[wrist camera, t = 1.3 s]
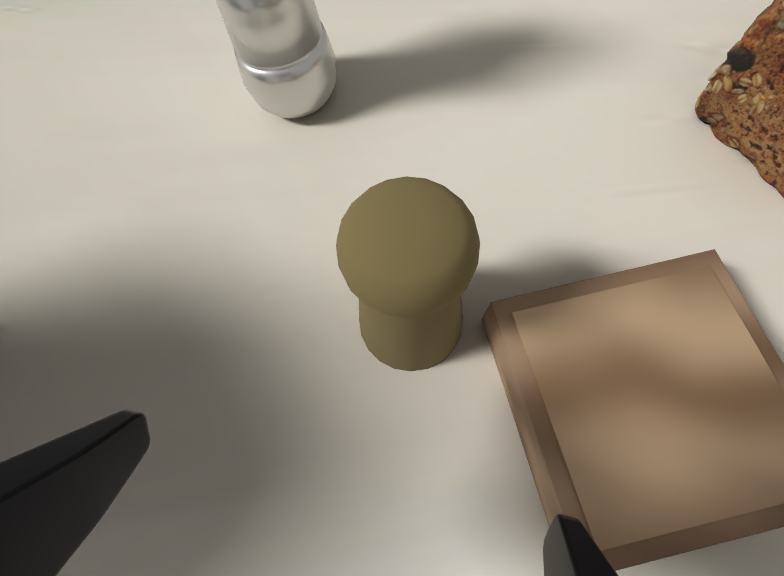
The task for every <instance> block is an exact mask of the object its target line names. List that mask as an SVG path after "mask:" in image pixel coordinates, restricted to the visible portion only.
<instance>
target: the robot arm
mask: <svg viewBox="0 0 784 576" xmlns="http://www.w3.org/2000/svg"><path fill="white" fill-rule="evenodd" d="M149 444H150V436H149V431H148V426H147V421H146V417H145V415H144V414H143V413H140V412H136V411H132V410H123V411H120V412H118V413H115V414H113V415H111V416H108V417H106V418H104V419H101V420H99V421H97V422H94V423H92V424H90V425H87V426H85V427H83V428H80V429H78V430H76V431H73V432H71V433H69V434H66V435H64V436H62V437H59V438H57V439H54V440H52V441H50V442H47V443H45V444H43V445H40V446H38V447H36V448H33V449H31V450H29V451H26V452H24V453H22V454H19V455H17V456H15V457H12V458H10V459H8V460H5V461H3V462H1V463H0V576H56V575H57V573H58V572H59V571H60V570H61V568H62V567H63V566H64V565H65V563H66V562H67V561H68V559H69V558H70V557H71V556H72V554H73V553H74V552H75V551H76V549H77V548H78V547H79V546H80V544H81V543H82V542H83V541H84V539H85V538H86V537H87V536H88V534H89V533H90V532H91V531H92V529H93V528H94V527H95V526H96V524H97V523H98V522H99V520H100V519H101V518H102V516H103V515H104V513H105V512H106V511H107V509H108V508H109V506H110V505H111V504H112V502H113V501H114V499H115V498H116V496H117V495H118V493H119V492H120V490H121V489H122V487H123V486H124V484H125V483H126V481H127V480H128V478H129V477H130V475H131V474H132V472H133V471H134V469H135V468H136V466H137V465H138V463H139V462H140V460H141V459H142V457H143V456H144V454H145V453H146V451H147V449H148V447H149ZM543 560H544V576H618V575H617V573H616V572H615V570H614V569H613V567H612V566H611V564H610V563H609V562H608V560H607V559H606V557H605V556H604V554H603V553H602V551H601V550H600V548H599V547H598V546H597V544H596V543H595V541H594V540H593V538H592V537H591V535H590V534H589V533H588V531H587V530H586V528H585V527H584V525H583V524H582V522H581V521H580V520H579V519H577V518H575V517H572V516H568V515H563V514H556V515H555V516H554V518H553V520H552V522H551V525H550V527H549V530H548V532H547V534H546V537H545V539H544V545H543Z"/></svg>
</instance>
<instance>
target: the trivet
mask: <svg viewBox="0 0 784 576" xmlns="http://www.w3.org/2000/svg"><path fill="white" fill-rule="evenodd" d="M482 321H483V324H484V328H485V331H486V334H487V337H488V340H489V343H490V346H491V349H492V352H493V355H494V358H495V361H496V364H497V367H498V370H499V373H500V376H501V379H502V383H503V386H504V389H505V392H506V395H507V398H508V401H509V404H510V407H511V410H512V413H513V416H514V419H515V422H516V425H517V428H518V431H519V434H520V438H521V441H522V444H523V447H524V450H525V453H526V456H527V459H528V462H529V465H530V468H531V471H532V474H533V477H534V480H535V483H536V486H537V489H538V493H539V496H540V499H541V502H542V505H543V508H544V511H545V514H546V517H547V520H548V523H549V526H550V525H551V522H552V520H553V518H554V516H555V515H556V514H563V515H568V516H572V517H575V518H577V519H579V520H580V521H581V522H582V524H583V525H584V527H585V528H586V530H587V531H588V533H589V534H590V535H591V537H592V538H593V540H594V541H595V543H596V544H597V546H598V547H599V548H600V550H601V551H602V553H603V554H604V556H605V557H606V559H607V560H608V562H609V563H610V564H611V566H612V567H613V569H614V570H615V571H616V570H620V569H624V568H627V567H631V566H635V565H639V564H643V563H647V562H650V561H654V560H658V559H662V558H666V557H670V556H673V555H677V554H681V553H685V552H689V551H693V550H696V549H700V548H704V547H708V546H712V545H716V544H719V543H723V542H727V541H731V540H735V539H739V538H742V537H746V536H750V535H754V534H758V533H762V532H765V531H769V530H773V529H777V528H781V527H784V365H783V363H782V361H781V360H780V358H779V356H778V355H777V353H776V351H775V350H774V348H773V346H772V345H771V343H770V341H769V340H768V338H767V336H766V335H765V333H764V331H763V330H762V328H761V326H760V324H759V323H758V321H757V319H756V318H755V316H754V314H753V313H752V311H751V309H750V308H749V306H748V304H747V303H746V301H745V299H744V298H743V296H742V294H741V293H740V291H739V289H738V288H737V286H736V284H735V283H734V281H733V279H732V278H731V276H730V274H729V272H728V271H727V269H726V267H725V266H724V264H723V262H722V261H721V259H720V257H719V256H718V254H717V252H716V251H715V249H714V250H710V251H705V252H701V253H697V254H693V255H689V256H684V257H680V258H676V259H672V260H668V261H663V262H659V263H655V264H651V265H647V266H642V267H638V268H634V269H630V270H625V271H621V272H617V273H613V274H609V275H604V276H600V277H596V278H592V279H588V280H583V281H579V282H575V283H571V284H567V285H562V286H558V287H554V288H550V289H545V290H541V291H537V292H533V293H529V294H524V295H520V296H516V297H512V298H508V299H503V300H499V301H495V302H491V303H490V305H489V307H488V309H487V311H486V312H485V314H484V316H483V318H482Z"/></svg>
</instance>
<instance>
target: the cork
mask: <svg viewBox="0 0 784 576" xmlns="http://www.w3.org/2000/svg"><path fill="white" fill-rule="evenodd" d="M336 248H337V257H338V266H339V268H340V270H341V272H342V274H343V276H344V278H345V280H346V282H347V284H348V286H349V288H350V290H351V291H352V292H353V293H354V294H355V295H356V296H357V297H358V298H359V321H360V328H361V335H362V338H363V340H364V342H365V344H366V346H367V348H368V350H369V351H370V352H371V353H372V354H373V355H374V356H375V357H376V358H377V359H378V360H379V361H381V362H383V363H385V364H387V365H389V366H390V367H392V368H394V369H400V370H407V371H415V370H421V369H427V368H430V367H432V366H434V365H435V364H437V363H439V362H441V361H443V360H444V359H445V358H446V357H447V356H448V355H449V354H450V353H451V352H452V351H453V349H454V348H455V346H456V344H457V342H458V339H459V337H460V335H461V329H462V319H463V318H462V303H461V294H462V293H463V292H464V291H465V290H466V289H467V287H468V285H469V282H470V280H471V278H472V276H473V274H474V272H475V270H476V267H477V265H478V259H479V248H480V240H479V235H478V232H477V228H476V224H475V220H474V217H473V215H472V214H471V212H470V211H469V209H468V208H467V206H466V205H465V203H464V202H463V200H461V199H460V198H459V197H458V196H456V195H455V194H454V193H452V192H451V191H450V190H449V189H447V188H446V187H445V186H443V185H441V184H438V183H435V182H433V181H430V180H428V179H425V178H415V177H401V178H395V179H389V180H386V181H384V182H381V183H379V184H377V185H375V186H373V187H370V188H369V189H368V190H367V191H366V192H364V193H363V194H362V195H361V196H360V197H359V198H357V199H356V200H355V201H354V202H353V203H352V204H351V206H350V207H349V209H348V210H347V212H346V214H345V215H344V217H343V218H342V220H341V224H340V229H339V233H338V237H337V244H336Z"/></svg>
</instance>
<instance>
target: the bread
mask: <svg viewBox="0 0 784 576" xmlns="http://www.w3.org/2000/svg"><path fill="white" fill-rule="evenodd" d="M708 81H710V83H708V85H707V87H706V89H705V90H704V91H703V92H702V93H701V95H700V96H699V97H698V99H697V101H696V104H695V111H696V114H697V116H698V118H699V119H700V120H702V121H704V122H707V123H710V128H711V130H712V132H713V134H714V136H715V137H716V138H717V139H718V140H719V141H721V142H722V143H723V144H725V145H728V146H731V147H735V148H738V149H739V151H740V152H741V153H742V154H743V155H745V156H746V157H748V158H749V159H750V161H751V162H752V163H753V164H754V165H755V167H756V168H757V170H758V172H759V174H760V176H761V177H762V178H763V180H765V181H766V182H767V183H769V184H771V185H772V186H774V187H775V188H776V189H777V190H778V191H779V193H780V194H781V195H782V196H783V197H784V0H774V1H773V3H772V4H771V5H770V6H769V7H767V8H766V9H765V10H764V11H763V12H762V13H761V14H760V15H759V16H757V18H756V20H755V21H754V22H753V23H752V25H751V26H750V27H749V28H748V30H747V31H746V32H745V33H744V36H743V37H742V39H741V41H739V42H737V43H736V44H735V45H734V46H733V47H732V49H731V50H730V51H729V52H728V53H727V60H726V61H725V62H724V63H723V64H722V65H721V66H719V67H718V68H717V69H716V70H715V72H714V73H713V74H712V75H711V76H710V78H709V79H708Z"/></svg>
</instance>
